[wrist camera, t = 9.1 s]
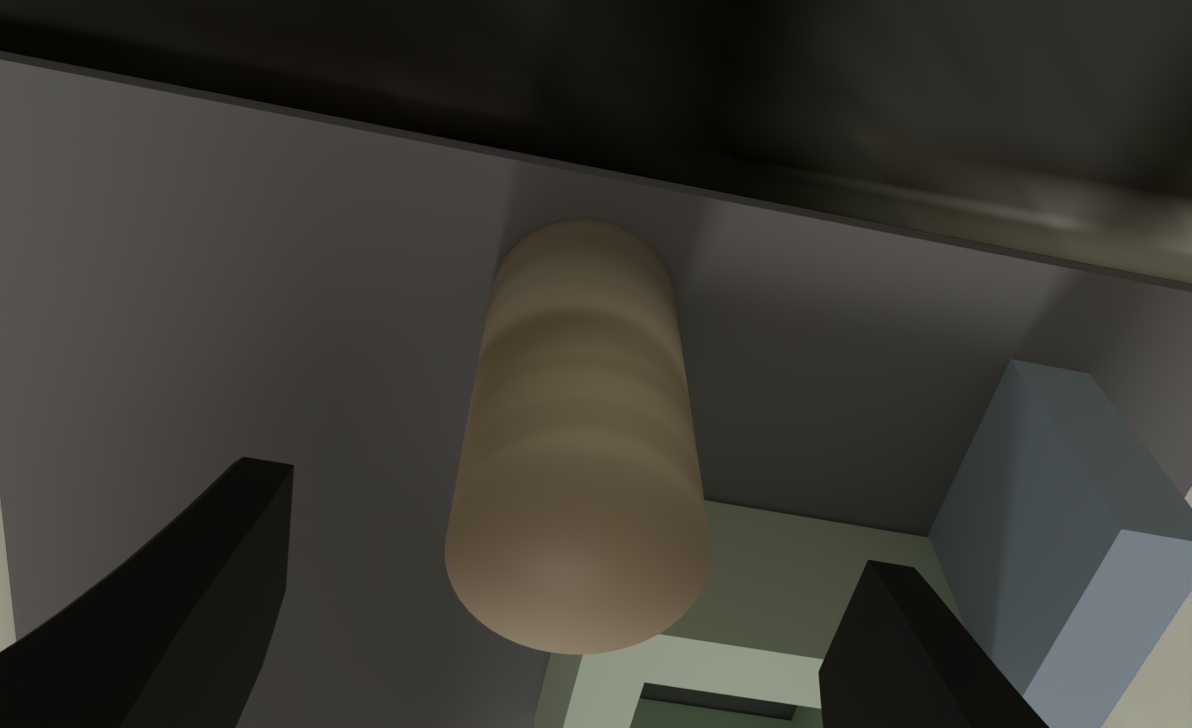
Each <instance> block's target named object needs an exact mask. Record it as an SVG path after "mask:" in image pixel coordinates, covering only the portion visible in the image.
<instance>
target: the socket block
mask: <svg viewBox="0 0 1192 728" xmlns="http://www.w3.org/2000/svg"><path fill="white" fill-rule="evenodd" d="M704 503H705V510H706V517H707V524H708V531H709V538H710V547H711V560H710V568H709V572H708V576H707V579H706V582H705V585H704V587H703V589H702V591H701V593H700V595H699V596H698V598H697V599H696V601H695V602H694V604H693V605H692V606H691V608H690V609H689V610H688V611H687V612H686V613H685V614H684V615H683V616H682V617H681V618H680V619H679V620H678V621H676V622H675V623H674V624H673V625H672V626H670V627H669V628H667V629H666V630H664V631H663V632H661V633H660V634H658V635H656V636H654V637H652V638H650V639H648V640H646V641H644V642H641V643H639V644H636V645H633V646H631V647H627V648H623V649H620V650H616V651H611V652H605V653H598V654H584V655H577V654H560V653H552V652H551V653H550V657H549V661H548V665H547V669H546V673H545V677H544V681H543V685H542V689H541V693H540V697H539V701H538V705H537V709H536V713H535V717H534V727H533V728H823V722H822V712H821V700H820V687H819V675H818V671H819V669H820V667H821V665H822V662H823V660H824V658H825V656H826V653H827V651H828V649H829V647H830V644H831V642H832V640H833V638H834V635H835V633H836V631H837V629H838V626H839V624H840V622H841V620H842V617H843V615H844V613H845V610H846V608H847V606H848V604H849V601H850V599H851V597H852V595H853V592H854V590H855V588H856V586H857V583H858V581H859V579H860V577H861V574H862V572H863V570H864V568H865V565H866V563H867V561H868V560H874V561H880V562H886V563H892V564H898V565H904V566H910V567H914V568H915V569H916V570H917V571H918V572H919V573H920V574H921V575H922V577H923V578H924V579H925V580H926V581H927V582H928V584H929V585H930V586H931V587H932V588H933V589H934V591H935V592H936V593H937V594H938V596H939V597H940V598H941V599H942V600H943V602H944V603H945V604H946V605H947V607H948V608H949V609H950V610H951V611H952V613H953V614H954V615H955V616H956V618H957V619H958V620H959V621H960V623H961V624H962V625H963V626H964V627H965V625H964V623H963V620H962V618H961V615H960V613H959V610H958V608H957V605H956V603H955V600H954V598H953V595H952V593H951V590H950V588H949V585H948V583H947V581H946V578H945V576H944V573H943V571H942V568H941V566H940V563H939V561H938V558H937V556H936V553H935V551H934V548H933V546H932V543H931V541H930V538H928V537H922V536H916V535H910V534H904V533H898V532H892V531H886V530H880V529H874V528H868V527H862V526H856V525H850V524H844V523H838V522H832V521H826V520H820V519H814V518H808V517H802V516H796V515H790V514H784V513H778V512H772V511H766V510H760V509H754V508H748V507H742V506H736V505H730V504H724V503H718V502H713V501H707V500H704ZM965 629H966V628H965ZM644 682H646V683H652V684H659V685H666V686H672V687H679V688H686V689H693V690H699V691H706V692H713V693H719V694H726V695H733V696H739V697H746V698H753V699H759V700H766V701H773V702H780V703H786V704H793V705H798V706H797V708H796V711H795V713H794V715H793V717H792V720H791V721H790V720H783V719H776V718H769V717H763V716H756V715H749V714H742V713H736V712H729V711H722V710H715V709H709V708H702V707H695V706H688V705H682V704H675V703H668V702H661V701H654V700H648V699H641V698H639V697H640V694H641V691H642V688H643V685H644Z"/></svg>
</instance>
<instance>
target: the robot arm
mask: <svg viewBox="0 0 1192 728" xmlns="http://www.w3.org/2000/svg"><path fill="white" fill-rule="evenodd" d="M293 476H294V465H291V464H285V463H279V462H273V461H267V460H261V459H255V458H249V457H242V458H240V459H238V460H237V461H235V462H233V463H232V464H231V465H230V466H229V467H228V468H227V469H226V470H225V471H224V472H223V473H222V474H221V475H220V476H219V477H218V478H217V479H216V480H215V481H214V482H213V483H212V484H211V485H210V486H209V487H208V488H207V489H206V490H205V491H204V492H203V493H202V494H201V495H199V496H198V497H197V498H196V499H195V500H194V501H193V502H192V503H191V504H190V505H189V506H188V507H187V508H185V509H184V510H183V511H182V512H181V513H180V514H179V515H178V516H177V517H176V518H174V519H173V520H172V521H171V522H170V523H169V524H168V525H167V526H166V527H164V528H163V529H162V530H161V531H160V532H159V533H157V534H156V535H155V536H154V537H153V538H151V539H150V540H149V541H148V542H147V543H146V544H144V545H143V546H142V547H141V548H140V549H139V550H137V551H136V552H135V553H134V554H133V555H132V556H130V557H129V558H128V559H127V560H126V561H124V562H123V563H122V564H121V565H120V566H118V567H117V568H116V569H115V570H113V571H112V572H111V573H110V574H108V575H107V576H106V577H104V578H103V579H102V580H100V581H99V582H98V583H96V584H95V585H94V586H93V587H91V588H90V589H89V590H87V591H86V592H85V593H83V594H82V595H81V596H79V597H78V598H77V599H76V600H74V601H73V602H72V603H70V604H69V605H68V606H66V607H65V608H64V609H62V610H61V611H60V612H58V613H57V614H56V615H54V616H53V617H51V618H50V619H49V620H47V621H46V622H44V623H43V624H41V625H40V626H39V627H37V628H36V629H34V630H33V631H31V632H30V633H28V634H27V635H25V636H24V637H23V638H21V639H20V640H18V641H17V642H15V643H14V644H12V645H10V646H9V647H7V648H6V649H4V650H3V651H1V652H0V728H236V726H237V723H238V721H239V719H240V716H241V714H242V712H243V710H244V707H245V705H246V703H247V700H248V698H249V696H250V694H251V691H252V689H253V687H254V685H255V682H256V680H257V678H258V675H259V673H260V671H261V668H262V666H263V663H264V660H265V657H266V653H267V650H268V647H269V644H270V641H271V638H272V634H273V631H274V628H275V625H276V621H277V618H278V615H279V611H280V608H281V605H282V601H283V598H284V595H285V591H286V581H287V566H288V551H289V536H290V521H291V506H292V491H293ZM818 675H819V687H820V700H821V712H822V722H823V728H1049V726H1048V725H1047V724H1046V723H1045V722H1044V721H1043V720H1042V719H1041V717H1040V716H1039V715H1038V714H1037V713H1036V712H1035V711H1034V710H1033V708H1032V707H1031V706H1030V705H1029V704H1028V703H1027V702H1026V700H1025V699H1024V698H1023V697H1022V696H1021V695H1020V694H1019V692H1018V691H1017V690H1016V689H1015V688H1014V687H1013V685H1012V684H1011V683H1010V682H1009V681H1008V679H1007V678H1006V677H1005V676H1004V675H1003V674H1002V672H1001V671H1000V670H999V669H998V668H997V666H996V665H995V664H994V663H993V662H992V660H991V659H990V658H989V657H988V656H987V654H986V653H985V652H984V651H983V649H982V648H981V647H980V646H979V645H978V643H977V642H976V641H975V640H974V638H973V637H972V636H971V635H970V634H969V632H968V631H967V630H966V629H965V627H964V626H963V625H962V624H961V623H960V621H959V620H958V619H957V618H956V616H955V615H954V614H953V613H952V611H951V610H950V609H949V608H948V607H947V605H946V604H945V603H944V602H943V600H942V599H941V598H940V597H939V596H938V594H937V593H936V592H935V591H934V589H933V588H932V587H931V586H930V585H929V584H928V582H927V581H926V580H925V579H924V578H923V577H922V575H921V574H920V573H919V572H918V571H917V570H916V569H915V568H914V567H910V566H904V565H898V564H892V563H886V562H880V561H874V560H868V561H867V563H866V565H865V568H864V570H863V572H862V574H861V577H860V579H859V581H858V583H857V586H856V588H855V590H854V592H853V595H852V597H851V599H850V601H849V604H848V606H847V608H846V610H845V613H844V615H843V617H842V620H841V622H840V624H839V626H838V629H837V631H836V633H835V635H834V638H833V640H832V642H831V644H830V647H829V649H828V651H827V653H826V656H825V658H824V660H823V662H822V665H821V667H820V669H819V671H818Z"/></svg>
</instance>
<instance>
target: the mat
mask: <svg viewBox="0 0 1192 728" xmlns="http://www.w3.org/2000/svg"><path fill="white" fill-rule="evenodd" d="M577 219H584V220H596V221H602V222H607V223H610V224H614V225H617V226H619V227H622V228H624V229H626V230H628V231H630V232H632V233H633V234H635V235H637V236H638V237H640V238H641V239H642V240H643V241H645V242H646V243H647V244H648V245H649V246H650V247H651V248H652V249H653V250H654V251H655V252H656V253H657V255H658V256H659V257H660V259H661V260H662V261H663V263H664V265H665V267H666V269H667V271H668V273H669V276H670V279H671V281H672V286H673V291H674V298H675V305H676V311H677V318H678V325H679V332H680V339H681V346H682V352H683V359H684V366H685V373H686V380H687V387H688V394H689V400H690V407H691V414H692V421H693V428H694V435H695V442H696V448H697V455H698V462H699V469H700V476H701V483H702V490H703V496H704V500H707V501H713V502H718V503H724V504H730V505H736V506H742V507H748V508H754V509H760V510H766V511H772V512H778V513H784V514H790V515H796V516H802V517H808V518H814V519H820V520H826V521H832V522H838V523H844V524H850V525H856V526H862V527H868V528H874V529H880V530H886V531H892V532H898V533H904V534H910V535H916V536H922V537H927V536H928V534H929V531H930V529H931V527H932V525H933V523H934V521H935V519H936V517H937V514H938V512H939V510H940V508H941V506H942V504H943V502H944V500H945V497H946V495H947V493H948V491H949V489H950V487H951V485H952V483H953V480H954V478H955V476H956V474H957V472H958V470H959V468H960V466H961V463H962V461H963V459H964V457H965V455H966V453H967V451H968V449H969V446H970V444H971V442H972V440H973V438H974V436H975V434H976V432H977V429H978V427H979V425H980V423H981V421H982V419H983V417H984V415H985V413H986V410H987V408H988V406H989V404H990V402H991V400H992V398H993V396H994V393H995V391H996V389H997V387H998V385H999V383H1000V381H1001V379H1002V376H1003V374H1004V372H1005V370H1006V368H1007V366H1008V364H1009V362H1010V359H1014V360H1019V361H1024V362H1030V363H1035V364H1041V365H1046V366H1051V367H1057V368H1062V369H1068V370H1073V371H1078V372H1084V373H1089V374H1090V375H1091V376H1092V378H1093V379H1094V380H1095V382H1096V383H1097V384H1098V385H1099V387H1100V388H1101V389H1102V391H1103V392H1104V393H1105V395H1106V396H1107V397H1108V399H1109V400H1110V401H1111V403H1112V404H1113V405H1114V407H1115V408H1116V409H1117V410H1118V412H1119V413H1120V414H1121V416H1122V417H1123V418H1124V420H1125V421H1126V422H1127V424H1128V425H1129V426H1130V428H1131V429H1132V430H1133V432H1134V433H1135V434H1136V436H1137V437H1138V438H1139V439H1140V441H1141V442H1142V443H1143V445H1144V446H1145V447H1146V449H1147V450H1148V451H1149V453H1150V454H1151V455H1152V457H1153V458H1154V459H1155V461H1156V462H1157V463H1158V465H1159V466H1160V467H1161V468H1162V470H1163V471H1164V472H1165V474H1166V475H1167V476H1168V478H1169V479H1170V480H1171V482H1172V483H1173V484H1174V486H1175V487H1176V488H1177V490H1178V491H1179V492H1180V493H1181V495H1182V496H1183V497H1185V496H1186V494H1187V493H1188V491H1189V489H1190V488H1191V486H1192V285H1191V284H1186V283H1181V282H1176V281H1171V280H1166V279H1161V278H1156V277H1151V276H1146V275H1140V274H1135V273H1130V272H1125V271H1120V270H1115V269H1110V268H1105V267H1100V266H1095V265H1089V264H1084V263H1079V262H1074V261H1069V260H1064V259H1059V258H1054V257H1049V256H1044V255H1038V254H1033V253H1028V252H1023V251H1018V250H1013V249H1008V248H1003V247H998V246H993V245H987V244H982V243H977V242H972V241H967V240H962V239H957V238H952V237H947V236H942V235H937V234H931V233H926V232H921V231H916V230H911V229H906V228H901V227H896V226H891V225H886V224H880V223H875V222H870V221H865V220H860V219H855V218H850V217H845V216H840V215H835V214H829V213H824V212H819V211H814V210H809V209H804V208H799V207H794V206H789V205H784V204H778V203H773V202H768V201H763V200H758V199H753V198H748V197H743V196H738V195H733V194H728V193H722V192H717V191H712V190H707V189H702V188H697V187H692V186H687V185H682V184H677V183H671V182H666V181H661V180H656V179H651V178H646V177H641V176H636V175H631V174H626V173H620V172H615V171H610V170H605V169H600V168H595V167H590V166H585V165H580V164H575V163H569V162H564V161H559V160H554V159H549V158H544V157H539V156H534V155H529V154H524V153H518V152H513V151H508V150H503V149H498V148H493V147H488V146H483V145H478V144H473V143H468V142H462V141H457V140H452V139H447V138H442V137H437V136H432V135H427V134H422V133H417V132H411V131H406V130H401V129H396V128H391V127H386V126H381V125H376V124H371V123H366V122H360V121H355V120H350V119H345V118H340V117H335V116H330V115H325V114H320V113H315V112H309V111H304V110H299V109H294V108H289V107H284V106H279V105H274V104H269V103H264V102H258V101H253V100H248V99H243V98H238V97H233V96H228V95H223V94H218V93H213V92H208V91H202V90H197V89H192V88H187V87H182V86H177V85H172V84H167V83H162V82H157V81H151V80H146V79H141V78H136V77H131V76H126V75H121V74H116V73H111V72H106V71H100V70H95V69H90V68H85V67H80V66H75V65H70V64H65V63H60V62H55V61H49V60H44V59H39V58H34V57H29V56H24V55H19V54H14V53H9V52H4V51H0V498H1V507H2V516H3V525H4V534H5V543H6V552H7V561H8V570H9V579H10V588H11V597H12V605H13V614H14V623H15V632H16V641H18V640H20V639H21V638H23V637H24V636H25V635H27V634H28V633H30V632H31V631H33V630H34V629H36V628H37V627H39V626H40V625H41V624H43V623H44V622H46V621H47V620H49V619H50V618H51V617H53V616H54V615H56V614H57V613H58V612H60V611H61V610H62V609H64V608H65V607H66V606H68V605H69V604H70V603H72V602H73V601H74V600H76V599H77V598H78V597H79V596H81V595H82V594H83V593H85V592H86V591H87V590H89V589H90V588H91V587H93V586H94V585H95V584H96V583H98V582H99V581H100V580H102V579H103V578H104V577H106V576H107V575H108V574H110V573H111V572H112V571H113V570H115V569H116V568H117V567H118V566H120V565H121V564H122V563H123V562H124V561H126V560H127V559H128V558H129V557H130V556H132V555H133V554H134V553H135V552H136V551H137V550H139V549H140V548H141V547H142V546H143V545H144V544H146V543H147V542H148V541H149V540H150V539H151V538H153V537H154V536H155V535H156V534H157V533H159V532H160V531H161V530H162V529H163V528H164V527H166V526H167V525H168V524H169V523H170V522H171V521H172V520H173V519H174V518H176V517H177V516H178V515H179V514H180V513H181V512H182V511H183V510H184V509H185V508H187V507H188V506H189V505H190V504H191V503H192V502H193V501H194V500H195V499H196V498H197V497H198V496H199V495H201V494H202V493H203V492H204V491H205V490H206V489H207V488H208V487H209V486H210V485H211V484H212V483H213V482H214V481H215V480H216V479H217V478H218V477H219V476H220V475H221V474H222V473H223V472H224V471H225V470H226V469H227V468H228V467H229V466H230V465H231V464H232V463H233V462H235V461H237V460H238V459H240V458H242V457H249V458H255V459H261V460H267V461H273V462H279V463H285V464H291V465H294V476H293V491H292V506H291V521H290V536H289V551H288V566H287V581H286V591H285V595H284V598H283V601H282V605H281V608H280V611H279V615H278V618H277V621H276V625H275V628H274V631H273V634H272V638H271V641H270V644H269V647H268V650H267V653H266V657H265V660H264V663H263V666H262V668H261V671H260V673H259V675H258V678H257V680H256V682H255V685H254V687H253V689H252V691H251V694H250V696H249V698H248V700H247V703H246V705H245V707H244V710H243V712H242V714H241V716H240V719H239V721H238V723H237V726H236V728H533V727H534V717H535V713H536V709H537V705H538V701H539V697H540V693H541V689H542V685H543V681H544V677H545V673H546V669H547V665H548V661H549V657H550V653H551V652H546V651H542V650H537V649H533V648H530V647H527V646H524V645H521V644H518V643H516V642H513V641H511V640H509V639H507V638H504V637H503V636H501V635H499V634H497V633H496V632H494V631H492V630H491V629H489V628H488V627H487V626H485V625H484V624H483V623H481V622H480V621H479V620H478V619H477V618H476V617H475V616H474V615H473V614H471V613H470V612H469V611H468V609H467V608H466V607H465V606H464V604H463V603H462V602H461V601H460V599H459V597H458V596H457V594H456V592H455V591H454V589H453V587H452V584H451V582H450V579H449V577H448V573H447V569H446V564H445V542H446V534H447V529H448V523H449V518H450V512H451V507H452V501H453V496H454V490H455V485H456V479H457V474H458V469H459V463H460V458H461V452H462V447H463V441H464V436H465V430H466V425H467V419H468V414H469V408H470V403H471V397H472V392H473V386H474V381H475V375H476V370H477V364H478V359H479V353H480V348H481V342H482V337H483V331H484V326H485V320H486V315H487V309H488V304H489V298H490V293H491V287H492V283H493V280H494V276H495V274H496V272H497V269H498V267H499V265H500V263H501V262H502V260H503V259H504V257H505V256H506V254H507V253H508V252H509V251H510V250H511V249H512V248H513V246H515V245H516V244H517V243H518V242H519V241H520V240H521V239H523V238H524V237H526V236H527V235H529V234H530V233H532V232H534V231H536V230H538V229H540V228H542V227H544V226H547V225H550V224H553V223H557V222H562V221H566V220H577ZM639 698H641V699H648V700H654V701H661V702H668V703H675V704H682V705H688V706H695V707H702V708H709V709H715V710H722V711H729V712H736V713H742V714H749V715H756V716H763V717H769V718H776V719H783V720H790V721H791V720H792V717H793V715H794V713H795V711H796V708H797V706H798V705H793V704H786V703H780V702H773V701H766V700H759V699H753V698H746V697H739V696H733V695H726V694H719V693H713V692H706V691H699V690H693V689H686V688H679V687H672V686H666V685H659V684H652V683H646V682H644V685H643V688H642V691H641V694H640V697H639Z"/></svg>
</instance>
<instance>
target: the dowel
mask: <svg viewBox="0 0 1192 728" xmlns="http://www.w3.org/2000/svg"><path fill="white" fill-rule="evenodd" d="M710 560H711V547H710V538H709V531H708V524H707V517H706V510H705V503H704V496H703V490H702V483H701V476H700V469H699V462H698V455H697V448H696V442H695V435H694V428H693V421H692V414H691V407H690V400H689V394H688V387H687V380H686V373H685V366H684V359H683V352H682V346H681V339H680V332H679V325H678V318H677V311H676V305H675V298H674V291H673V286H672V281H671V279H670V276H669V273H668V271H667V269H666V267H665V265H664V263H663V261H662V260H661V259H660V257H659V256H658V255H657V253H656V252H655V251H654V250H653V249H652V248H651V247H650V246H649V245H648V244H647V243H646V242H645V241H643V240H642V239H641V238H640V237H638V236H637V235H635V234H633V233H632V232H630V231H628V230H626V229H624V228H622V227H619V226H617V225H614V224H610V223H607V222H602V221H596V220H584V219H577V220H566V221H562V222H557V223H553V224H550V225H547V226H544V227H542V228H540V229H538V230H536V231H534V232H532V233H530V234H529V235H527V236H526V237H524V238H523V239H521V240H520V241H519V242H518V243H517V244H516V245H515V246H513V248H512V249H511V250H510V251H509V252H508V253H507V254H506V256H505V257H504V259H503V260H502V262H501V263H500V265H499V267H498V269H497V272H496V274H495V276H494V280H493V283H492V287H491V293H490V298H489V304H488V309H487V315H486V320H485V326H484V331H483V337H482V342H481V348H480V353H479V359H478V364H477V370H476V375H475V381H474V386H473V392H472V397H471V403H470V408H469V414H468V419H467V425H466V430H465V436H464V441H463V447H462V452H461V458H460V463H459V469H458V474H457V479H456V485H455V490H454V496H453V501H452V507H451V512H450V518H449V523H448V529H447V534H446V542H445V564H446V569H447V573H448V577H449V579H450V582H451V584H452V587H453V589H454V591H455V592H456V594H457V596H458V597H459V599H460V601H461V602H462V603H463V604H464V606H465V607H466V608H467V609H468V611H469V612H470V613H471V614H473V615H474V616H475V617H476V618H477V619H478V620H479V621H480V622H481V623H483V624H484V625H485V626H487V627H488V628H489V629H491V630H492V631H494V632H496V633H497V634H499V635H501V636H503V637H504V638H507V639H509V640H511V641H513V642H516V643H518V644H521V645H524V646H527V647H530V648H533V649H537V650H542V651H546V652H552V653H560V654H577V655H584V654H598V653H605V652H611V651H616V650H620V649H623V648H627V647H631V646H633V645H636V644H639V643H641V642H644V641H646V640H648V639H650V638H652V637H654V636H656V635H658V634H660V633H661V632H663V631H664V630H666V629H667V628H669V627H670V626H672V625H673V624H674V623H675V622H676V621H678V620H679V619H680V618H681V617H682V616H683V615H684V614H685V613H686V612H687V611H688V610H689V609H690V608H691V606H692V605H693V604H694V602H695V601H696V599H697V598H698V596H699V595H700V593H701V591H702V589H703V587H704V585H705V582H706V579H707V576H708V572H709V568H710Z"/></svg>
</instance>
